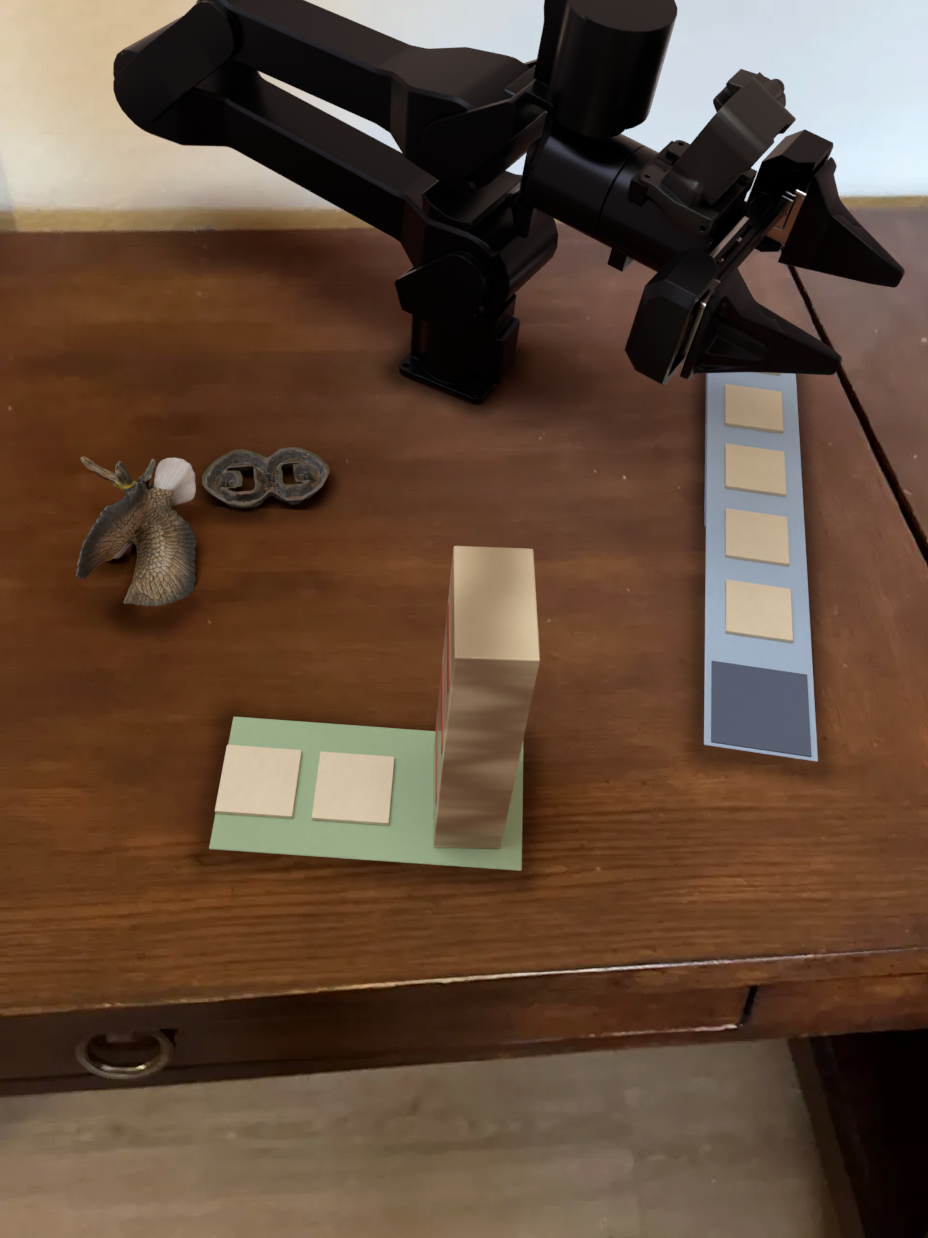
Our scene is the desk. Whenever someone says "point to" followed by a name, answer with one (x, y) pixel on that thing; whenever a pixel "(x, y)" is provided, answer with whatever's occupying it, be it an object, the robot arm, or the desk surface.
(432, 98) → the robot arm
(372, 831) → the left mat
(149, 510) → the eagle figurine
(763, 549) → the right mat
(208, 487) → the corroded twin loop
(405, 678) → the desk surface
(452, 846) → the red striped wooden block
